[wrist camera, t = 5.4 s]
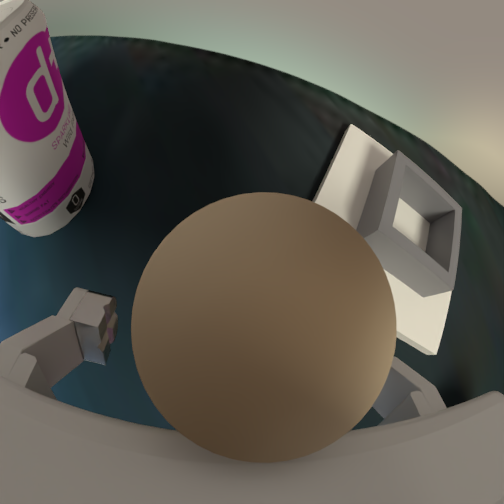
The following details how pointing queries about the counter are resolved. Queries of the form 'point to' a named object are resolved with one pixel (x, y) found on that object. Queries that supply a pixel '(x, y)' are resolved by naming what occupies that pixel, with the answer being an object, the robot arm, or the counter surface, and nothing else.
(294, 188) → the counter surface
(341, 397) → the beech peg
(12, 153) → the supplement can
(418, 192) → the docking plate
